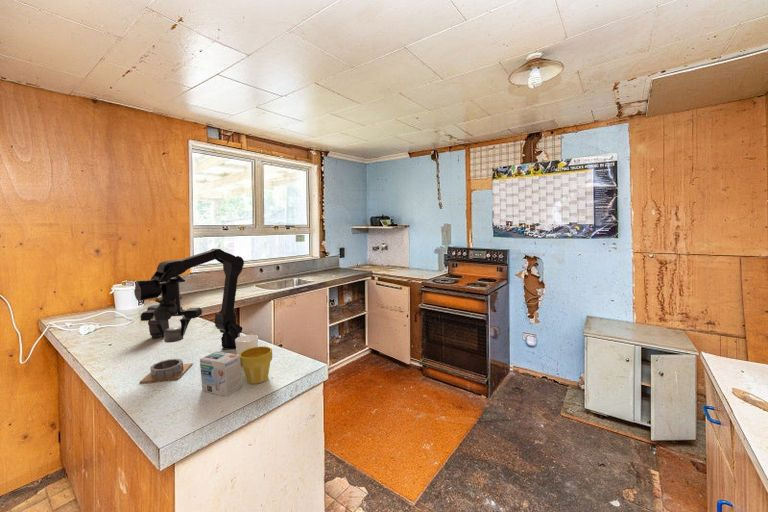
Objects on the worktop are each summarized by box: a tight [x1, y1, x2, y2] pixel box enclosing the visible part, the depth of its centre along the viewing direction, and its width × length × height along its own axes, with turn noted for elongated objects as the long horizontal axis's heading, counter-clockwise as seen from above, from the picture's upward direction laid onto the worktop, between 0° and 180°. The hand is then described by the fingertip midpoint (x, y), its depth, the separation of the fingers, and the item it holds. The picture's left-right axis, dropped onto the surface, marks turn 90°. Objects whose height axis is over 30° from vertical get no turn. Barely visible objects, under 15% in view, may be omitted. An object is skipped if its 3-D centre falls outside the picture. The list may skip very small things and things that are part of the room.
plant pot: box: [239, 346, 273, 385], centre depth 110 cm, size 10×10×10 cm
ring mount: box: [139, 358, 193, 384], centre depth 117 cm, size 12×12×3 cm
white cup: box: [235, 334, 259, 368], centre depth 123 cm, size 8×8×10 cm
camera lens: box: [146, 304, 170, 340], centre depth 155 cm, size 8×8×15 cm
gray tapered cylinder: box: [163, 326, 184, 344], centre depth 122 cm, size 6×6×4 cm
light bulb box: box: [199, 350, 243, 397], centre depth 105 cm, size 11×7×11 cm, turn 69°
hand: (173, 336), depth 122 cm, fingers closed on gray tapered cylinder, 6 cm apart
